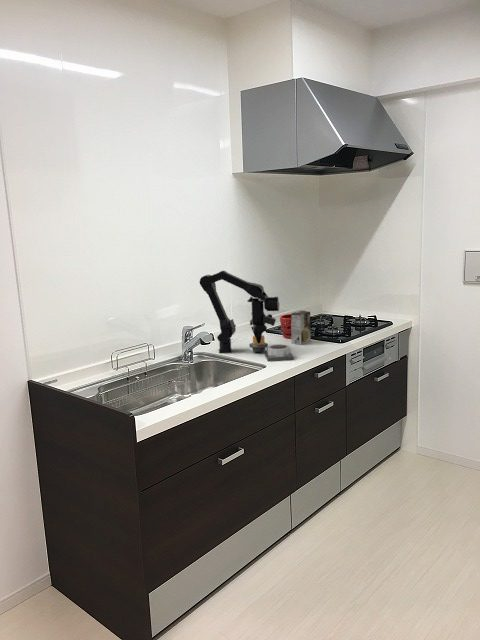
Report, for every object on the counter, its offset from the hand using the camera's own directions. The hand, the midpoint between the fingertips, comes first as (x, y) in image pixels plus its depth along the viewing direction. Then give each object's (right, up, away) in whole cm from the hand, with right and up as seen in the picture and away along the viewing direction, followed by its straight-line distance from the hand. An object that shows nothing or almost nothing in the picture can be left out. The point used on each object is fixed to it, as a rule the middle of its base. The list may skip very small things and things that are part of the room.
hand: (258, 342), depth 264 cm
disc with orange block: (0, -4, +1) cm, 4 cm away
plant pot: (+20, +1, +31) cm, 37 cm away
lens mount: (+9, -7, -10) cm, 15 cm away
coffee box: (+23, -1, +18) cm, 29 cm away
